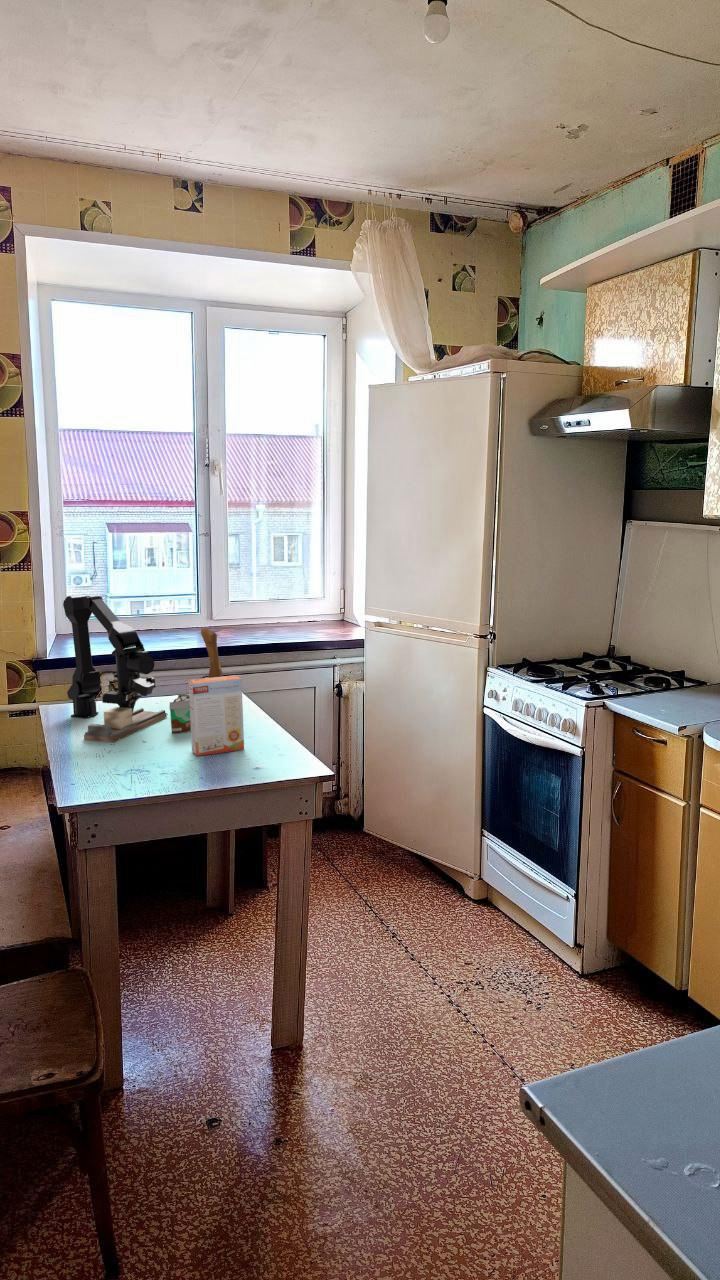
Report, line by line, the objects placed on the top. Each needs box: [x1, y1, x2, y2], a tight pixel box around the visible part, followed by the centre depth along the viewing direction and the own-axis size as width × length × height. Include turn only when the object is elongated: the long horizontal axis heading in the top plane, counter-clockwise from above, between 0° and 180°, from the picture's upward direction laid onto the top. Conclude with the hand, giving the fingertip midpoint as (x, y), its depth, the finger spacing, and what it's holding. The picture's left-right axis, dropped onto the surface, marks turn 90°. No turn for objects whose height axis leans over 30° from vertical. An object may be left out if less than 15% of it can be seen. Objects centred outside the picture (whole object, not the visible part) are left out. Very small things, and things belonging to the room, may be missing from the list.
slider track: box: [83, 707, 168, 744], centre depth 267 cm, size 10×30×4 cm, turn 162°
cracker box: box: [188, 674, 245, 757], centre depth 242 cm, size 14×6×21 cm, turn 114°
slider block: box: [103, 706, 133, 729], centre depth 263 cm, size 6×6×5 cm
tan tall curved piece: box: [200, 626, 224, 678], centre depth 285 cm, size 7×19×28 cm, turn 16°
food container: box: [169, 693, 191, 735], centre depth 265 cm, size 12×6×10 cm, turn 179°
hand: (128, 719), depth 268 cm, fingers closed
